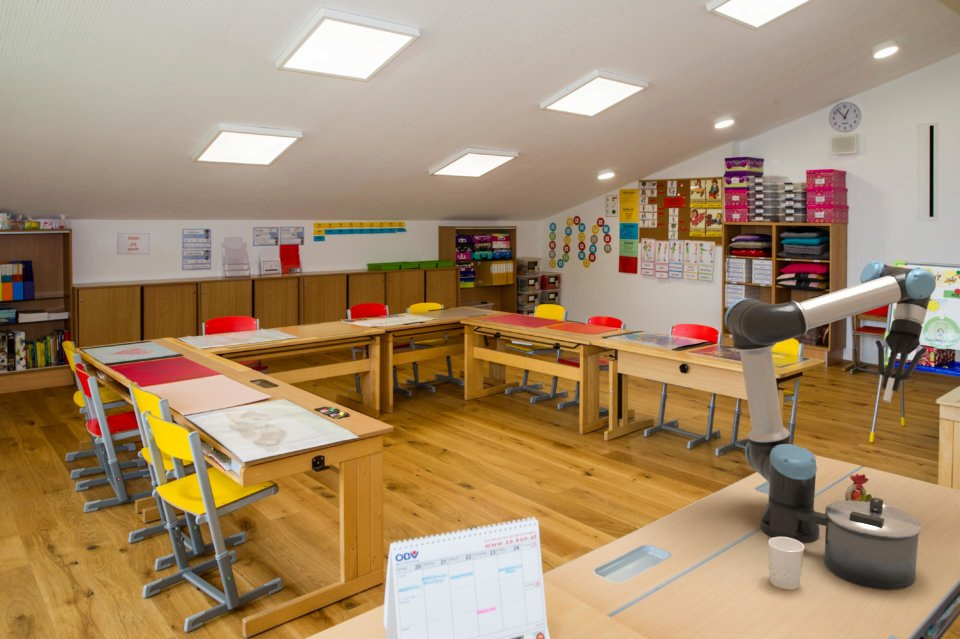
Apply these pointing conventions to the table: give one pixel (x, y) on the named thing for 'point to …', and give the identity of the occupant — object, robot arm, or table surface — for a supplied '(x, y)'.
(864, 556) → the cooker pot
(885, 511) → the cooker lid
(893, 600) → the table surface
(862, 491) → the bird rattle
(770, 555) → the white cup
